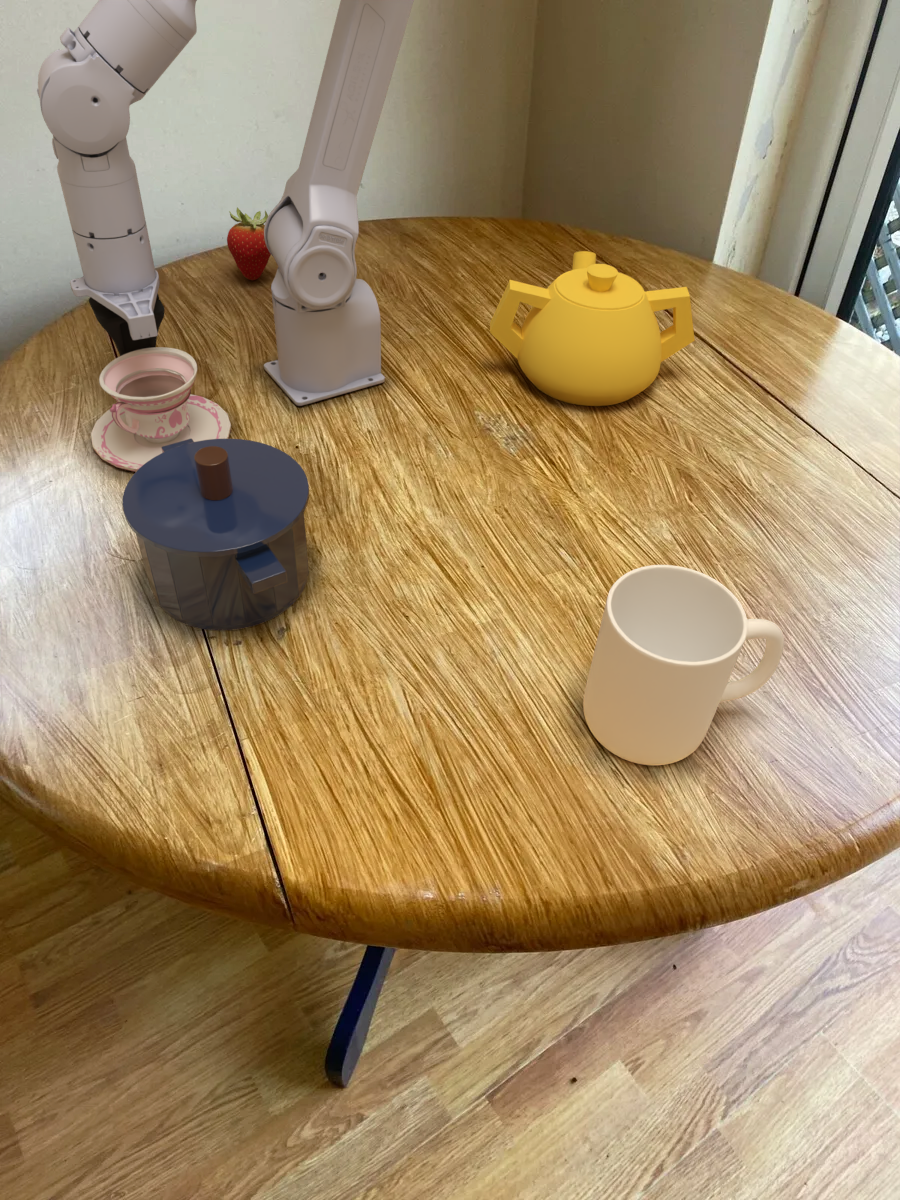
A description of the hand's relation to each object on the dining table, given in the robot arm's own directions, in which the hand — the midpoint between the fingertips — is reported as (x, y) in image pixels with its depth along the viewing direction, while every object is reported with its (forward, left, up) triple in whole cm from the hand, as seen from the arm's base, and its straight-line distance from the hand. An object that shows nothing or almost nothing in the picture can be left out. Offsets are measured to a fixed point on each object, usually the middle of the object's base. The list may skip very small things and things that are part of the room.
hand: (141, 374), depth 82 cm
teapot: (-41, +14, -3) cm, 43 cm away
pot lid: (+2, +26, +5) cm, 26 cm away
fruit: (-19, -18, -3) cm, 27 cm away
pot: (+2, +26, -3) cm, 26 cm away
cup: (-18, +53, -3) cm, 56 cm away
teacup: (+1, +6, -3) cm, 6 cm away
